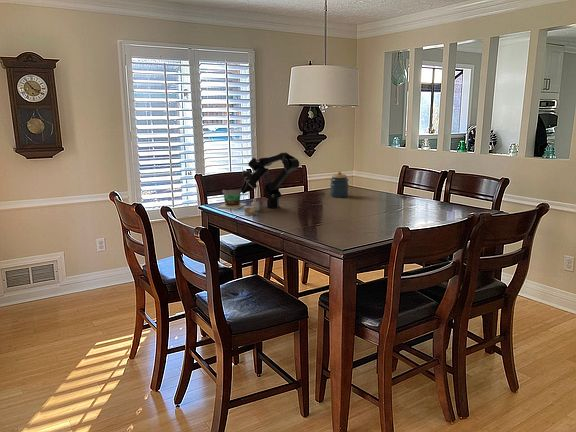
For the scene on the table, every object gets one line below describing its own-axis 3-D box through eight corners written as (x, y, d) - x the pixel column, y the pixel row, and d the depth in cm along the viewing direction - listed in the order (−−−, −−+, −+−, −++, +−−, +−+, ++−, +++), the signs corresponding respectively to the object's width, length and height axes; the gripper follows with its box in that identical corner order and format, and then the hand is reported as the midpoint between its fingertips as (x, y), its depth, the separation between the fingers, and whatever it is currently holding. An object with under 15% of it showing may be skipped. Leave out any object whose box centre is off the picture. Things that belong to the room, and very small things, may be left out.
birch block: (254, 214, 275) (254, 206, 274) (251, 215, 271) (251, 207, 270) (247, 213, 277) (247, 206, 276) (244, 215, 272) (244, 207, 271)
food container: (223, 206, 293) (222, 190, 291) (222, 204, 299) (222, 189, 297) (242, 205, 295) (242, 190, 293) (242, 203, 301) (241, 188, 299)
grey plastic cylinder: (260, 210, 286) (260, 202, 285) (257, 211, 281) (257, 203, 280) (253, 209, 287) (252, 201, 286) (250, 211, 283) (249, 203, 282)
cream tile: (245, 205, 303) (245, 203, 302) (236, 209, 290) (236, 207, 289) (227, 204, 307) (227, 202, 306) (218, 208, 294) (218, 206, 293)
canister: (327, 195, 337) (327, 170, 334) (344, 194, 340) (344, 170, 337) (333, 198, 325) (333, 172, 321) (351, 197, 328) (351, 172, 324)
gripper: (247, 164, 304) (230, 181, 304) (251, 167, 286) (233, 185, 286) (259, 175, 307) (243, 193, 307) (263, 179, 289) (246, 197, 289)
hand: (241, 192), depth 297 cm, fingers open, 9 cm apart
